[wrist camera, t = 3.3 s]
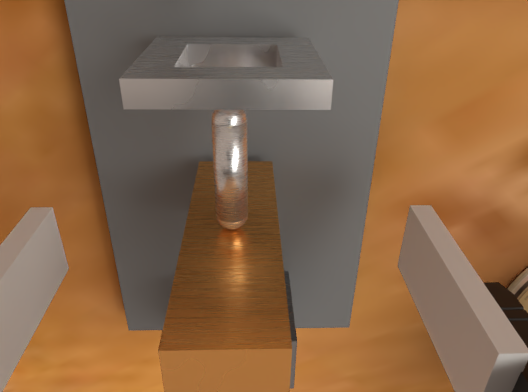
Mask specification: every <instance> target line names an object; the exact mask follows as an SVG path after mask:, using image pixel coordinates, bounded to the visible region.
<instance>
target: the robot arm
mask: <svg viewBox="0 0 528 392" xmlns="http://www.w3.org/2000/svg"><path fill="white" fill-rule="evenodd" d="M398 267H399V270H400V272H401V274H402V276H403V278H404V281H405V283H406V285H407V287H408V289H409V292H410V294H411V296H412V298H413V301H414V303H415V305H416V307H417V309H418V312H419V314H420V316H421V318H422V320H423V323H424V325H425V327H426V329H427V331H428V334H429V336H430V338H431V340H432V342H433V345H434V347H435V349H436V351H437V353H438V356H439V358H440V360H441V362H442V364H443V367H444V369H445V371H446V373H447V376H448V378H449V380H450V382H451V384H452V387H453V389H454V391H455V392H528V313H527V311H526V310H524V307H523V306H522V304H521V303H520V302H519V300H518V299H517V298H516V296H515V295H514V294H513V293H512V292H510V291H509V290H508V289H507V288H505V287H504V286H503V285H501V284H500V283H499V282H496V283H483V281H482V280H481V279H480V277H479V276H478V274H477V273H476V271H475V270H474V268H473V267H472V265H471V264H470V262H469V261H468V259H467V258H466V256H465V255H464V253H463V252H462V250H461V249H460V248H459V246H458V245H457V243H456V242H455V240H454V239H453V237H452V236H451V234H450V233H449V231H448V230H447V228H446V227H445V225H444V224H443V222H442V221H441V220H440V218H439V217H438V215H437V214H436V212H435V211H434V209H433V208H432V206H431V205H413V206H410V208H409V213H408V218H407V223H406V227H405V232H404V237H403V242H402V247H401V252H400V256H399V261H398ZM68 269H69V267H68V263H67V260H66V256H65V252H64V248H63V244H62V241H61V237H60V233H59V229H58V226H57V222H56V218H55V214H54V210H53V207H31V208H30V209H29V210H28V211H27V213H26V214H25V215H24V216H23V218H22V219H21V220H20V221H19V223H18V224H17V225H16V226H15V228H14V229H13V230H12V231H11V233H10V234H9V235H8V236H7V238H6V239H5V240H4V241H3V242H2V244H1V245H0V392H3V390H4V388H5V386H6V384H7V382H8V381H9V379H10V377H11V375H12V373H13V371H14V369H15V368H16V366H17V364H18V362H19V360H20V358H21V356H22V355H23V353H24V351H25V349H26V347H27V345H28V343H29V342H30V340H31V338H32V336H33V334H34V332H35V330H36V329H37V327H38V325H39V323H40V321H41V319H42V318H43V316H44V314H45V312H46V310H47V308H48V306H49V305H50V303H51V301H52V299H53V297H54V295H55V293H56V292H57V290H58V288H59V286H60V284H61V282H62V280H63V279H64V277H65V275H66V273H67V271H68Z"/></svg>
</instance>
